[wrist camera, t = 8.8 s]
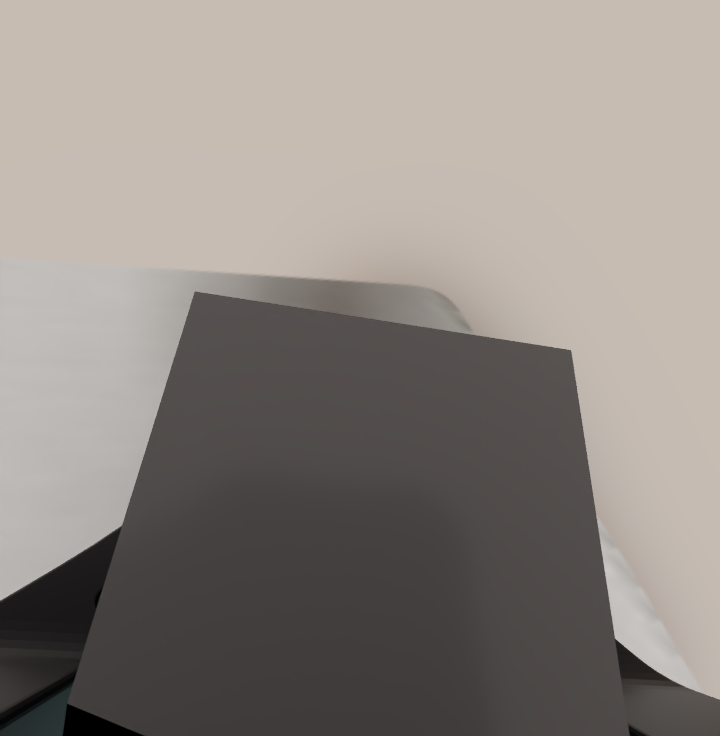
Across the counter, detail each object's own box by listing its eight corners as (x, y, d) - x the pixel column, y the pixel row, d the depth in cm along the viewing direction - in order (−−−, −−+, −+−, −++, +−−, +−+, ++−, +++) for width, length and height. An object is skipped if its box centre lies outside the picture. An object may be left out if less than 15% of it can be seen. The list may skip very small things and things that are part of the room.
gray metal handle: (386, 618, 14) (1041, 1383, 2) (210, 607, 13) (-952, 1819, 1) (395, 446, 17) (680, 245, 4) (247, 429, 16) (65, 123, 3)
